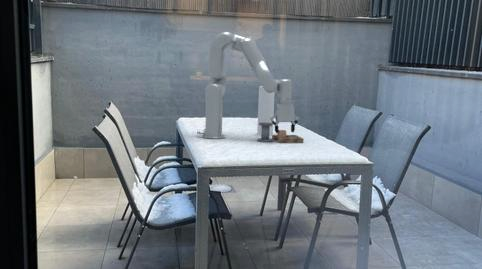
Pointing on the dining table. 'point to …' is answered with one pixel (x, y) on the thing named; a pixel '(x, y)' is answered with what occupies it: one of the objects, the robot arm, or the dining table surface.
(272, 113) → the white tall cylinder
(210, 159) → the dining table surface
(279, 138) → the board
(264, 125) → the spool
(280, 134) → the tab
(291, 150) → the dining table surface
